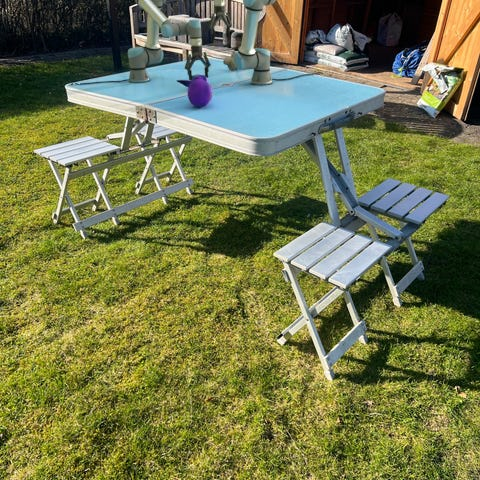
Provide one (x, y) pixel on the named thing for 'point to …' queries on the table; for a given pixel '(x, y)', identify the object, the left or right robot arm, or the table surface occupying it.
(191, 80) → the brick
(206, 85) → the toy
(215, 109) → the table surface
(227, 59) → the teapot
